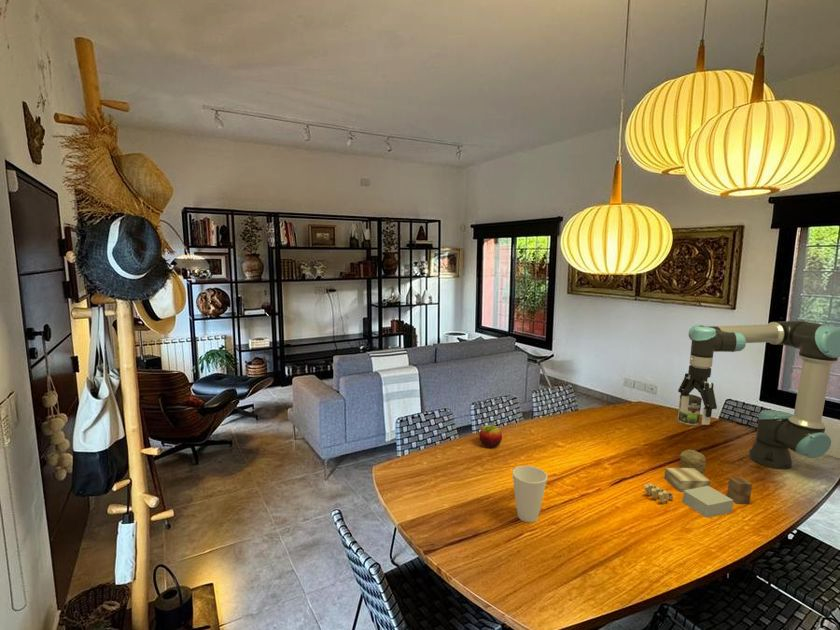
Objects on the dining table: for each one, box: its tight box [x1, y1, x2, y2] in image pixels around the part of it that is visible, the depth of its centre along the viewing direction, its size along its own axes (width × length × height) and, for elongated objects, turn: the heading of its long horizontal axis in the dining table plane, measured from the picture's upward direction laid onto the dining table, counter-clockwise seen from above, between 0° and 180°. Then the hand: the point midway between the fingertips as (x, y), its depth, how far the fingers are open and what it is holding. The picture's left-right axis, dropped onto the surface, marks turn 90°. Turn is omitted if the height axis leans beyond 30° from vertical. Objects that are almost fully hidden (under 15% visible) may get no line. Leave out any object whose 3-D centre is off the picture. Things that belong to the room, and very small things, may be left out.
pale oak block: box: [663, 467, 711, 493], centre depth 177 cm, size 12×10×5 cm
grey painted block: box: [682, 485, 734, 519], centre depth 162 cm, size 12×10×5 cm
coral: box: [679, 449, 707, 474], centre depth 190 cm, size 9×9×8 cm
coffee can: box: [677, 393, 703, 426], centre depth 241 cm, size 10×10×14 cm
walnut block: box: [726, 476, 753, 505], centre depth 167 cm, size 5×5×8 cm
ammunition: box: [643, 482, 674, 504], centre depth 168 cm, size 5×7×8 cm
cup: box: [511, 465, 548, 523], centre depth 154 cm, size 12×12×16 cm
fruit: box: [479, 424, 503, 449], centre depth 210 cm, size 11×11×10 cm
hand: (694, 417), depth 177 cm, fingers open, 13 cm apart
